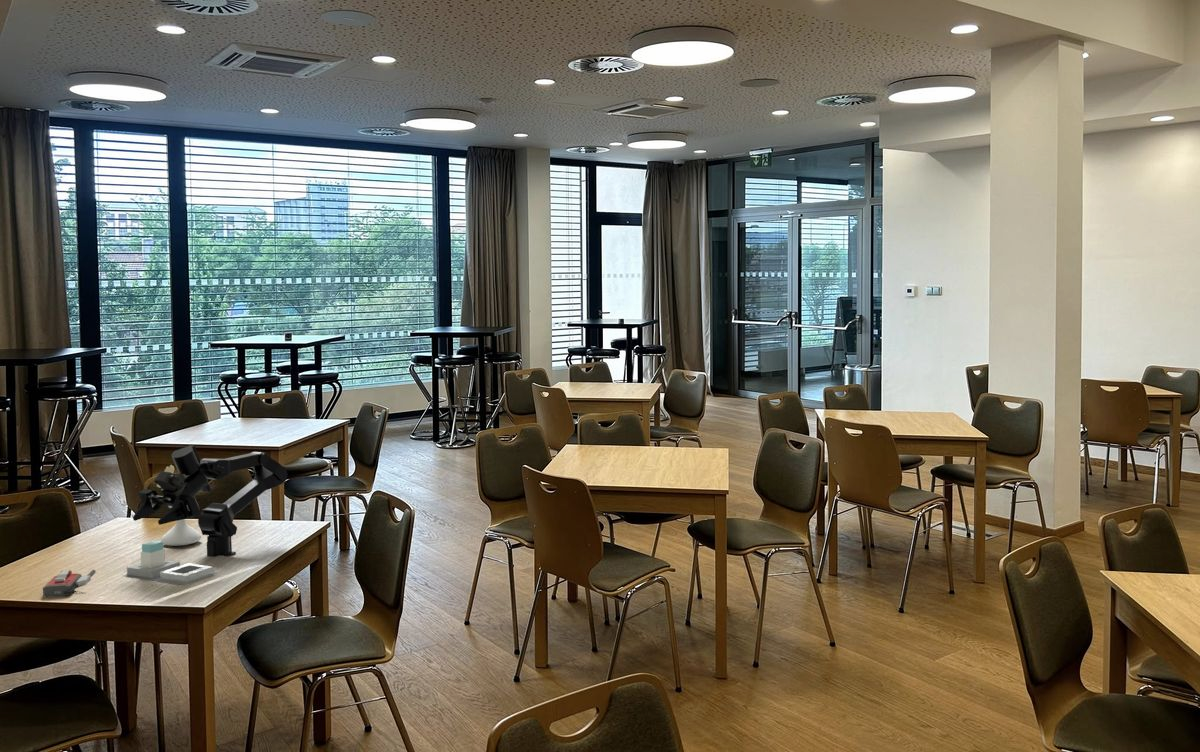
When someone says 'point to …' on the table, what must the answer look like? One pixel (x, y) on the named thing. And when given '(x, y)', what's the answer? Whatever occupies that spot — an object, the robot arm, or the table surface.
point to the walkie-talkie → (65, 583)
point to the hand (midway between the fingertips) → (146, 521)
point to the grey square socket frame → (153, 572)
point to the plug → (152, 554)
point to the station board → (163, 580)
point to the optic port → (186, 573)
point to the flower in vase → (180, 529)
